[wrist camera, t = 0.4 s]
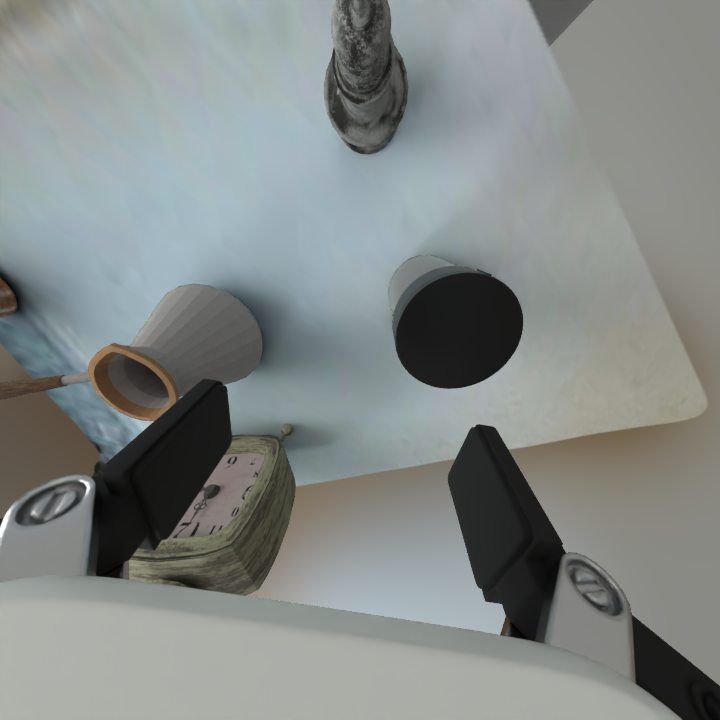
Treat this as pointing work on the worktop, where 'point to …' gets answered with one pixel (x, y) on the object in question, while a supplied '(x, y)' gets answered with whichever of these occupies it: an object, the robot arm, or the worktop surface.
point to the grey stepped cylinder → (364, 76)
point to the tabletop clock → (228, 523)
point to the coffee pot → (168, 354)
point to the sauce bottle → (7, 300)
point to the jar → (412, 274)
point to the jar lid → (456, 326)
